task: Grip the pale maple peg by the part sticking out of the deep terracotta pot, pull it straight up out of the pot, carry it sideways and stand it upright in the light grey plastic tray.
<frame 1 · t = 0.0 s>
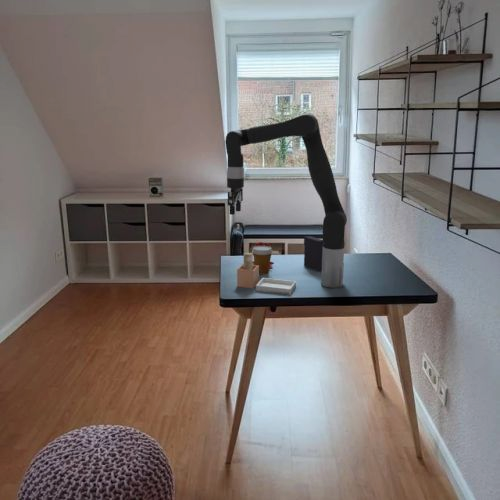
hand: (235, 212, 228), 29 cm above the table, tool pointing down, fingers open, 8 cm apart
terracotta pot: (247, 284, 222), on the table
calculator: (313, 268, 247), on the table
disposable coffee cup: (261, 272, 239), on the table
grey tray: (276, 288, 217), on the table
maple peg: (248, 269, 220), in the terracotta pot
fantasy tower: (262, 266, 250), on the table
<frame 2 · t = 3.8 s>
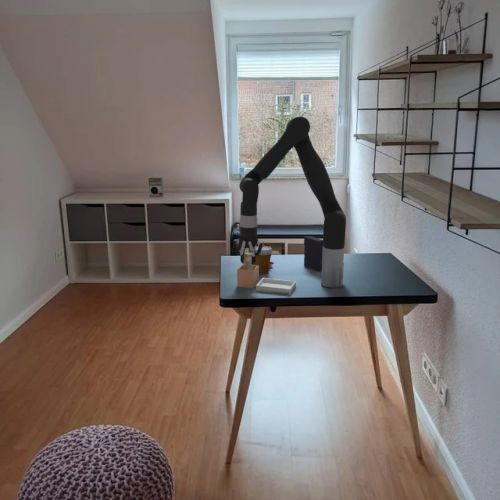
hand: (248, 263, 219), 10 cm above the table, tool pointing down, fingers closed on maple peg, 4 cm apart
maple peg: (248, 269, 220), in the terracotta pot, touching gripper
everything else where it was.
when the fingers open (12 cm above the table, at t = 10.4 s): maple peg drops 1 cm, resting on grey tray.
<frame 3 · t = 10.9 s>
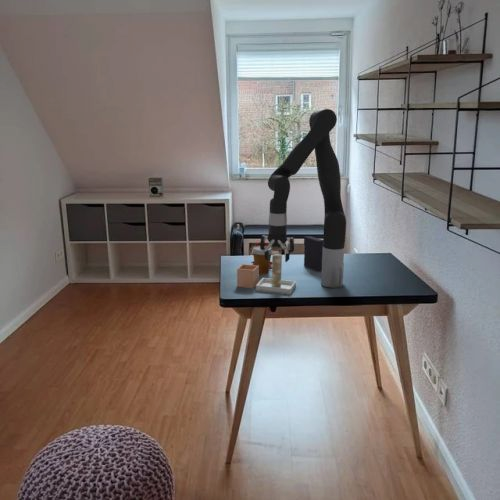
hand: (276, 260, 214), 13 cm above the table, tool pointing down, fingers open, 8 cm apart
maple peg: (276, 271, 215), in the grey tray, point 8 cm above the table
everything else where it was.
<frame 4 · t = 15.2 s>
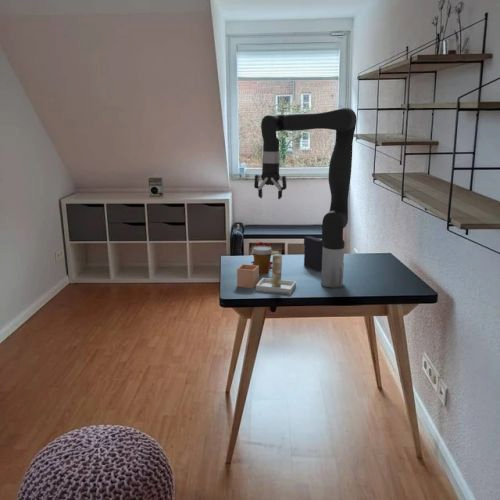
hand: (270, 198, 226), 36 cm above the table, tool pointing down, fingers open, 8 cm apart
nothing on the table moved.
at the end: maple peg inside the target area on the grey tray (0.0 cm from its centre), point 7.8 cm above the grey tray's base; maple peg tilted 1°; the gripper is holding nothing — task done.
